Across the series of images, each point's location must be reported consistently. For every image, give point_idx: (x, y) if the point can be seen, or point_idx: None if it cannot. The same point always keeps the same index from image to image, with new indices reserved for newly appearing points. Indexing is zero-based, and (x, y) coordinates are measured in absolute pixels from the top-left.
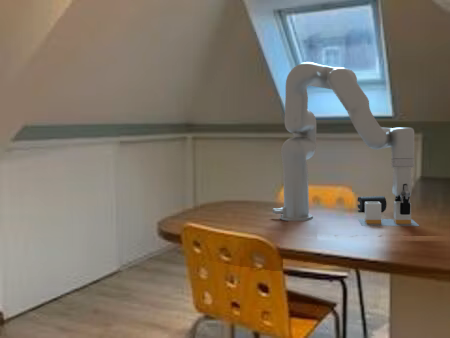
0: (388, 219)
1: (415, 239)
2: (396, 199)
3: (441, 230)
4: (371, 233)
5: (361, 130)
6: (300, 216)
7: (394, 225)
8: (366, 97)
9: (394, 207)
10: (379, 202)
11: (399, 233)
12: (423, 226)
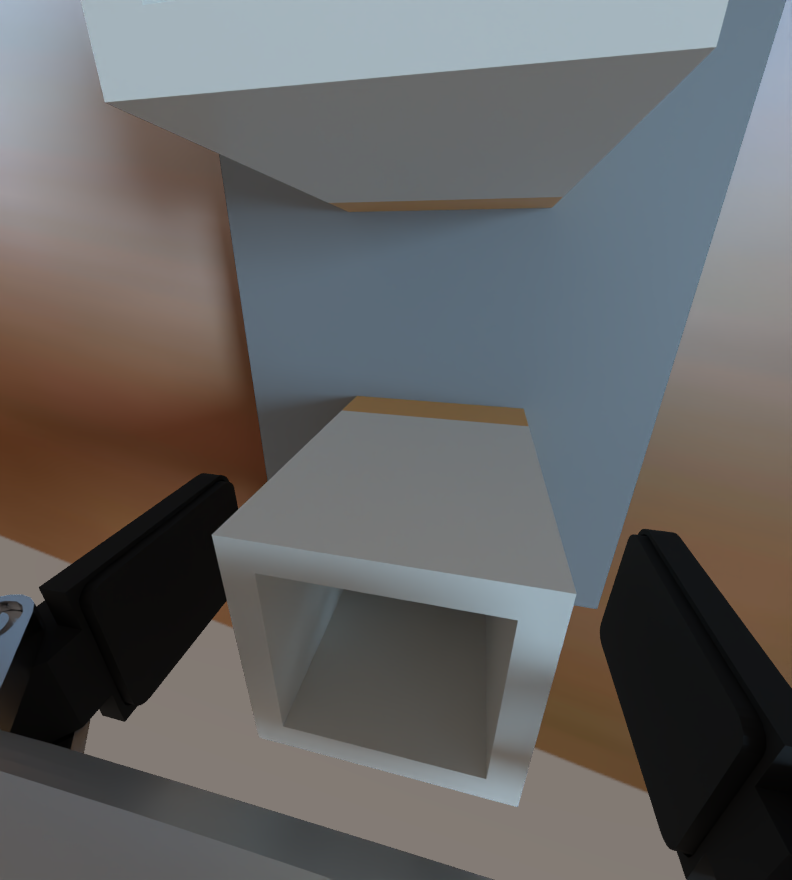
0: (636, 368)
1: (19, 420)
2: (736, 734)
3: None
4: (73, 51)
5: None
6: None
7: (262, 357)
8: None
9: (439, 494)
10: (406, 41)
11: (158, 359)
12: None
